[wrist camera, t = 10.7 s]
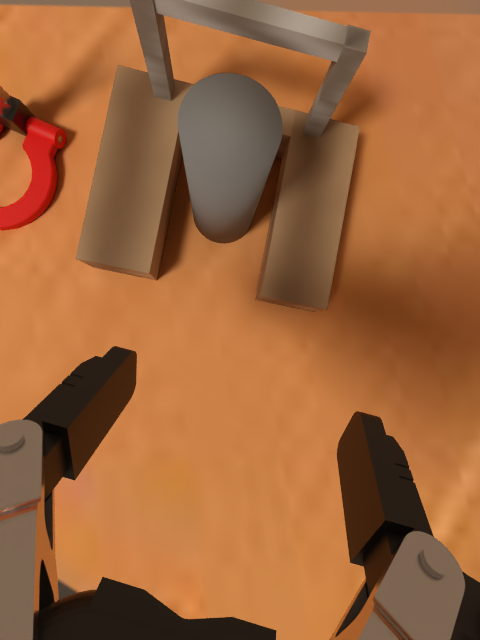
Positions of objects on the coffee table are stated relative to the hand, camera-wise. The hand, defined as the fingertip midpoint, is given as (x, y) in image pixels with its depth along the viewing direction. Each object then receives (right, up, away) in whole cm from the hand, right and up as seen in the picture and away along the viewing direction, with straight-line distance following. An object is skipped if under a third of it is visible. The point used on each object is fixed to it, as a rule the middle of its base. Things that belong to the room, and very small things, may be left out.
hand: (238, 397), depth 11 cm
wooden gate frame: (-1, +12, +14) cm, 18 cm away
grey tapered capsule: (-1, +11, +14) cm, 18 cm away
